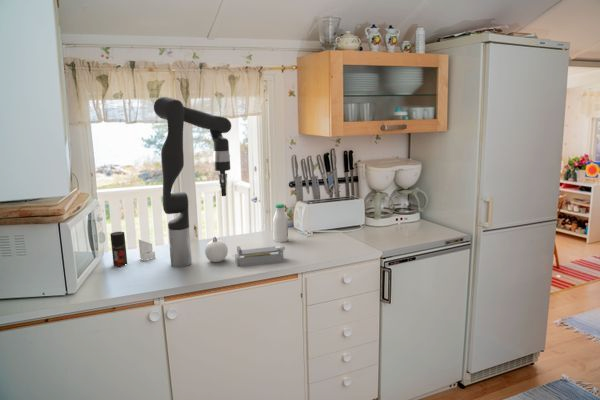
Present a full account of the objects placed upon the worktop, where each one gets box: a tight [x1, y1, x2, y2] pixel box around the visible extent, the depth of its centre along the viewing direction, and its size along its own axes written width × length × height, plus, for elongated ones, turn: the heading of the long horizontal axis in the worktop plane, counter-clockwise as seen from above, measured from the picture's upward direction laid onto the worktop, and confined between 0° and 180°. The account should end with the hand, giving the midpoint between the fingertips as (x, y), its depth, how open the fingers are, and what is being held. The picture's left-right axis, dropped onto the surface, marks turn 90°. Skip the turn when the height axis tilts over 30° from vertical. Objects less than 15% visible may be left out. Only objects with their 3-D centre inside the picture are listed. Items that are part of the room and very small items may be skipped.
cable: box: [244, 253, 271, 257], centre depth 208 cm, size 12×4×3 cm, turn 106°
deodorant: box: [110, 231, 128, 267], centre depth 208 cm, size 6×6×15 cm
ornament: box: [204, 236, 229, 263], centre depth 210 cm, size 10×10×12 cm
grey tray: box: [232, 250, 286, 267], centre depth 213 cm, size 22×16×4 cm
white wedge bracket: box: [138, 239, 156, 261], centre depth 216 cm, size 4×10×9 cm, turn 138°
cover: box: [236, 245, 286, 256], centre depth 209 cm, size 6×22×3 cm, turn 107°
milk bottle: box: [272, 203, 289, 243], centre depth 240 cm, size 8×8×20 cm
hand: (224, 195), depth 220 cm, fingers closed
